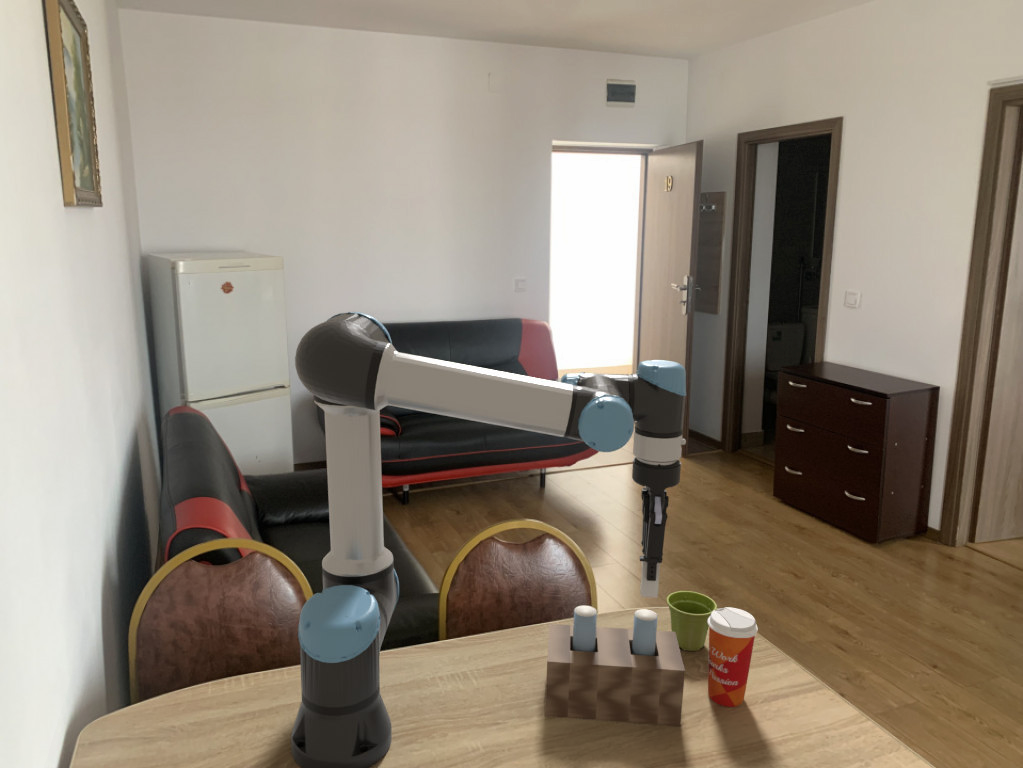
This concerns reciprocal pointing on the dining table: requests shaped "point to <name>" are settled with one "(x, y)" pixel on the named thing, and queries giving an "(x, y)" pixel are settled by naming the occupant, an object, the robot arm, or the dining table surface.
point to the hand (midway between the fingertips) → (649, 594)
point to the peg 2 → (644, 632)
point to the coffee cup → (729, 654)
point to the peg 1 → (584, 629)
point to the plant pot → (690, 618)
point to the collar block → (614, 678)
